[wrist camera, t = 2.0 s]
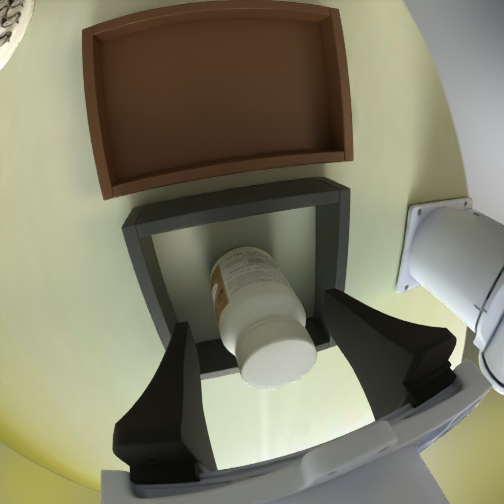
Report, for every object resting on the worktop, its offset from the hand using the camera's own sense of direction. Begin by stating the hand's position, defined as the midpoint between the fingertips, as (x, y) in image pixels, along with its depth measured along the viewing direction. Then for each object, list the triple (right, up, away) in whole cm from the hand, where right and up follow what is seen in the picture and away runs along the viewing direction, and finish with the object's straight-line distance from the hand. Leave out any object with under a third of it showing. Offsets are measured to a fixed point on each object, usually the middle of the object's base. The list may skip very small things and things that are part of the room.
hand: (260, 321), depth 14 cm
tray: (-2, +12, -1) cm, 12 cm away
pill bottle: (-1, +2, +4) cm, 5 cm away
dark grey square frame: (-1, +2, +4) cm, 5 cm away
